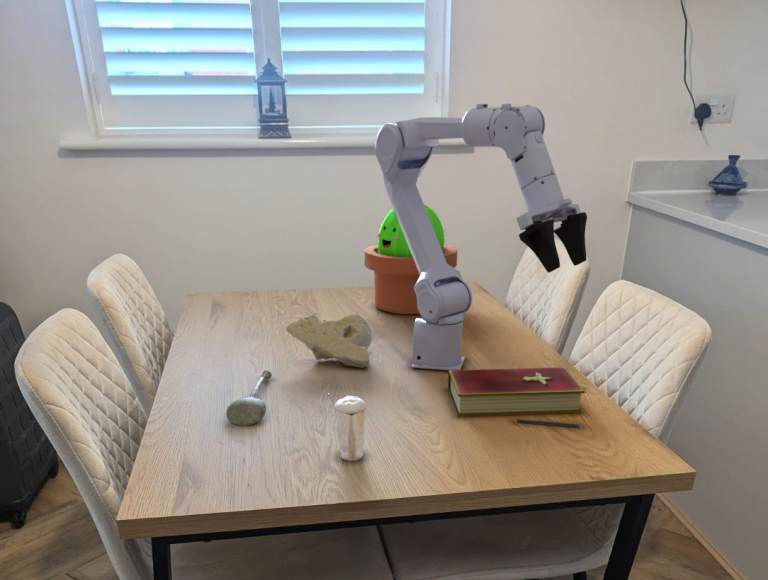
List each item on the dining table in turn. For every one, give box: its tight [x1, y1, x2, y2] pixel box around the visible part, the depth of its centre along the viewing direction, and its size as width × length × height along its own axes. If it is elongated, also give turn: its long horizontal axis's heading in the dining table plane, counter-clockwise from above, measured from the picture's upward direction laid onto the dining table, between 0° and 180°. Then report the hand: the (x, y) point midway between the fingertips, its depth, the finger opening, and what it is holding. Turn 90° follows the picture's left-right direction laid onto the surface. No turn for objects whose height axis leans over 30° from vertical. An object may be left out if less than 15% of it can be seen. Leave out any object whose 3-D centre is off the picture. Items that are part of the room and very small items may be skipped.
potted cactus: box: [363, 201, 458, 315], centre depth 174 cm, size 22×22×25 cm
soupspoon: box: [225, 370, 273, 427], centre depth 125 cm, size 22×3×7 cm
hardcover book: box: [447, 366, 585, 418], centre depth 124 cm, size 12×21×4 cm, turn 93°
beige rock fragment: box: [285, 312, 373, 369], centre depth 143 cm, size 15×7×15 cm
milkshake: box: [327, 393, 367, 462], centre depth 104 cm, size 4×5×10 cm
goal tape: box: [516, 419, 581, 429], centre depth 124 cm, size 10×18×1 cm, turn 167°
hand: (567, 266), depth 114 cm, fingers open, 7 cm apart
